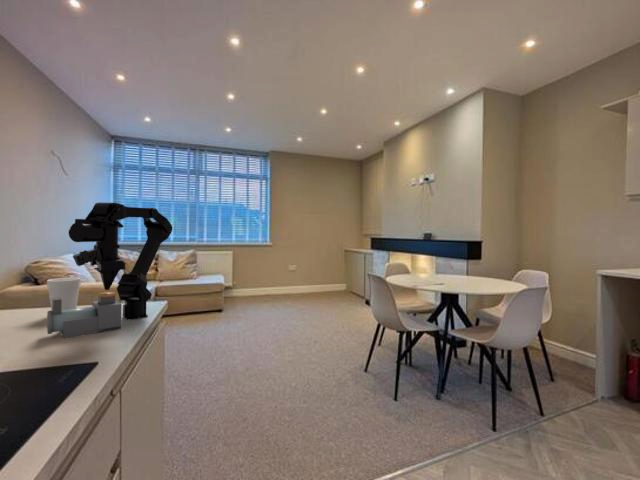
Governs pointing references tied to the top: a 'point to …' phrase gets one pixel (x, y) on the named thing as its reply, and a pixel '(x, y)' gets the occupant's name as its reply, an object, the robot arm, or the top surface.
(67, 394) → the top surface
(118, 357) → the top surface
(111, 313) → the housing
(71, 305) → the foam cup
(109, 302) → the plunger
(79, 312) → the cartridge
